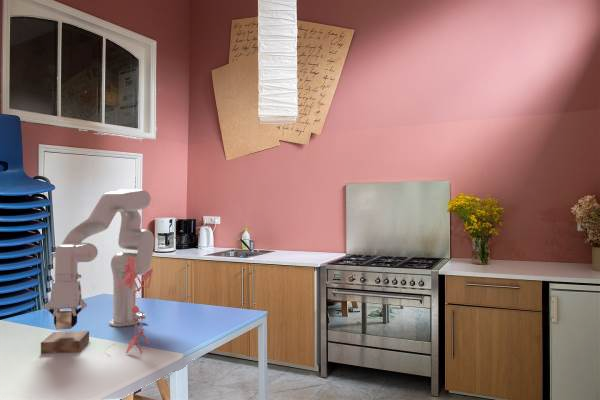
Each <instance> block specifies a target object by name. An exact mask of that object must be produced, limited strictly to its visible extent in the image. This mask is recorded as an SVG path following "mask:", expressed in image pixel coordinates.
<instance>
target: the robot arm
mask: <svg viewBox="0 0 600 400" xmlns="http://www.w3.org/2000/svg"><path fill="white" fill-rule="evenodd" d="M151 198H152V197H151V195H150V193H149V191H147V190H145V189H119V190H115V191H109V192H108V191H107V192H105V193H103V194H102V195H101V197H100V198H99V199H98V201H97V203H96V205H95V206H94V208H93V210H92V211H91V213H90V215H89V216H88V218H86V219H85V220H83V221H81V223H79V224H78V225H77V226H75V227H74V228H73V229H71V230H70V231H69V232H68V233H67V235H66V237H65V238H64V239H63V242H62V243H61V244H60V245H58V246H56V247H55V251H54V254H55V256H54V259H55V260H54V264H55V265H54V268H55V269H54V281H53V282H52V287H51V290H50V291H51V292H50V299H49V301H48V302H47V303H46V304H45V305H44V309H45V310H46V311H48V312H49V313H50V314H51V315H52V317H53V325H54V326H55V327H54V328H56V313H57V312H59V311H60V310H64V309H70V310H72V313H73V316H72V323H71V326H72V328H74V326H76V324H77V323H78V314H79V313H80V312H82V311H83V310H84V309H85V308H87V306H88V305H87V303H86V302H85V301H84V299H83V298H82V295H83V294H82V287H81V286H82V285H81V281H80V280H79V279H81V278H82V274H79V273H78V272H79V271H78V263H90V262H92V261H95V259H96V258H97V257H98V254H99V253H98V247H97V246H96V245H95V244H92V243H89V242H83V241H85V240H86V239H87V238H88V237H91V236H95V235H97V234H99V233H101V232H104V231H106V230H107V229H108V228H109V227H110V224H111V223H112V221H113V219H114V217H115V216H116V215H117V213H118V212H119V213H120V216H121V217H120V219H121V220H120V226H119V234H118V240H117V241H118V243H117V244H118V247H119V248H121V249H122V250H130V251H136V252H118V253H116V254H114V255H113V256H112V258H111V261H110V267H111V268H110V269H111V272H112V274H111V275H112V281H113V282H112V283H113V284H112V285H113V286H112V287H113V288H112V289H113V290H112V292H113V294H112V301H113V302H112V306H113V307H112V319H111V320H109V322H108V324H109V325H110V326H112V327H130V326H134V325H136V318H137V324H138V323H140V319H141V320H142V313H138V312H137V313H135V316H136V318H135V316H134V313H133V312H132V310H131V309H132V307H133V306H134V295H133V293H134V291H136V290H137V288H136V285H135V283H134V281H133V286H132V288H131V289H130V287H129V284H128V285H127V286H126V284H125V283H126V282H125V283H124V284H123V285H122V286H121V287H120V288H119V289H118V287H119V285H120V283H121V282H122V281H123V279H124V278H125V277H126V272H125V264H127V265H128V257H129V256H130V255H131V260H132V259H133V258H135V266H134V268H135V271H136V274H137V276H143V275H144V274H145V273H146V272H148V271H149V270H151V267H152V262H153V261H152V260H153V254H154V247H155V237H154V234H153V232H152V231H151V230H149V229H145V228H141V225H142V217H141V214H140V212H139V211H140V210H143V209H147V208H148V207H149V205H150V203H151ZM136 301H137V292H135V306H137V302H136ZM79 306H80V307H79ZM145 319H147V315H146V314H145V313H143V320H145Z"/></svg>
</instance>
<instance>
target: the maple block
mask: <svg viewBox="0 0 600 400" xmlns="http://www.w3.org/2000/svg"><path fill="white" fill-rule="evenodd" d="M72 316H73V313H72V310H71V309H60V311H59V312H57V313H56V327H55V329H56V330H71V329H72V328H73V327H72V326H71V323H72Z"/></svg>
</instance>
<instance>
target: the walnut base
mask: <svg viewBox="0 0 600 400" xmlns="http://www.w3.org/2000/svg"><path fill="white" fill-rule="evenodd" d="M88 341H90V330H73V331H72V330H71V331H54V332H52V333H50V334H49V335H48V336H47V337H46V338H44V339H43V340H42V341H41V342H40V354H42V353H44V354H60V353H61V354H62V353H63V354H64V353H65V352H66V354H67V353H80V352H81V350H82V349H83V348H85V346H86V345H87V344H88V343H89V342H88ZM87 342H88V343H87ZM86 343H87V344H86ZM85 344H86V345H85Z"/></svg>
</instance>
